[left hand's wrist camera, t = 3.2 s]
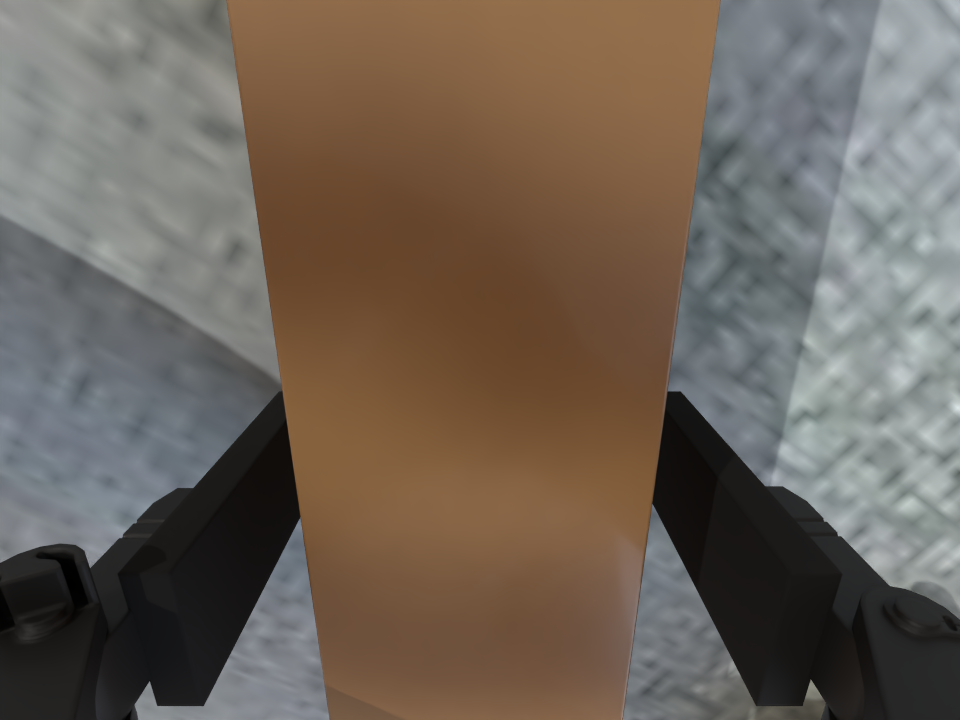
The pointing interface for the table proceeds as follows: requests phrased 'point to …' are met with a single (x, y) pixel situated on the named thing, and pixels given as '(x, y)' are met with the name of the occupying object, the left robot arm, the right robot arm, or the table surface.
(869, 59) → the table surface
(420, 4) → the post
